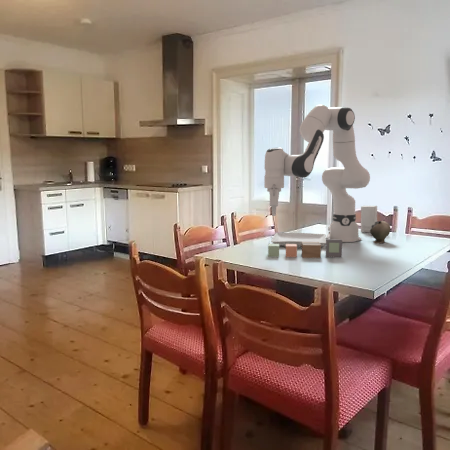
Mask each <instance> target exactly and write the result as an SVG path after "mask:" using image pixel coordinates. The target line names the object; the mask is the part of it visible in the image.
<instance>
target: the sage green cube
mask: <svg viewBox="0 0 450 450" xmlns="http://www.w3.org/2000/svg"><path fill="white" fill-rule="evenodd" d="M267 252H268V253H267V254H268V255H267V257H277V258H279V257H280V246H279V244H273V243H268V245H267Z"/></svg>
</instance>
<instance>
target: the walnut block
mask: <svg viewBox="0 0 450 450" xmlns="http://www.w3.org/2000/svg"><path fill="white" fill-rule="evenodd" d="M301 257H302V258H303V259H322V247H321V244H320V242H302V247H301Z"/></svg>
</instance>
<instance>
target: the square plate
mask: <svg viewBox="0 0 450 450" xmlns="http://www.w3.org/2000/svg"><path fill="white" fill-rule="evenodd" d="M326 237H327V234H325V233H311V232H275V234H274V235H273V238H272V239H271V243H272V244H279V247H285V248H286V244H297V248H302V242H320V244H321V248H322V247H324V246H326Z"/></svg>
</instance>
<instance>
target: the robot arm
mask: <svg viewBox="0 0 450 450" xmlns="http://www.w3.org/2000/svg"><path fill="white" fill-rule="evenodd" d="M355 115H356V114H355V112H354V111H353V109H352V108H350V107H346V106H343V107H341V106H337V107H335V106H333V107H328V106H327V105H324V104H317V105H316V106H314V107H313V108H311V110H310V111H309V112H308V114H307V115H306V116H305V117H304V119H303V120H302V122H301V124H300V126H299V133H300V136H301V137H302V139H303V140H304V141H306V142H307V143H308V144H307V145H306V148H305V151H304V152H303V153H300V154H289V153H287V152H286V151H285V150H284V149H283V148H282V147H271V148H269V149H267V150H266V151H265V155H264V171H265V172H264V182H263V183H264V187H263V188H265V189H266V191H267V192H268V193H269V207H271V216H272V217H276V215H277V207H278V206H279V198H280V193H281V192H282V189H284V187H285V177H297V178H303V179H305V178H307V177H309V176H310V175H311V173H312V171H313V169H314V166H315V162H316V160H317V159H316V158H317V157H318V155H319V152H320V150H321V148H322V145H323V142H324V139H325V136H324V132H325V131H332V151H333V152H332V153H333V158H334V159H335V160H337V161H339V162H340V163H341V164H342V166H341V167H339V166H338V167H337V166H336V167H328V168H326V169H324V170H323V172H322V175H321V181H322V183H323V185H324V186H325V187H326V188H327V189H328V190H329V191H330V193H331V195H332V200H333V213H332V223H330V225H329V226H328V228H327V231H328V234H326V239H330V240H342V243H352V242H358V241H363V240H362V237H359V224H358V223H357V222H356V220H357V215H356V200H355V198H354V197H353V196H352V195H350V194H349V193H348V192H347V189H355V190H356V189H362V188H366V187H367V186H368V185H369V183H370V181H371V174H370V172H369V171H368V169H367V168H365V167H364V166H363V165H362V164H361V163H360V161H359V159H358V157H357V151H356V138H355V137H356V136H355V130H354V129H355V128H354V124H355V121H356V120H355V119H356V116H355Z"/></svg>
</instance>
